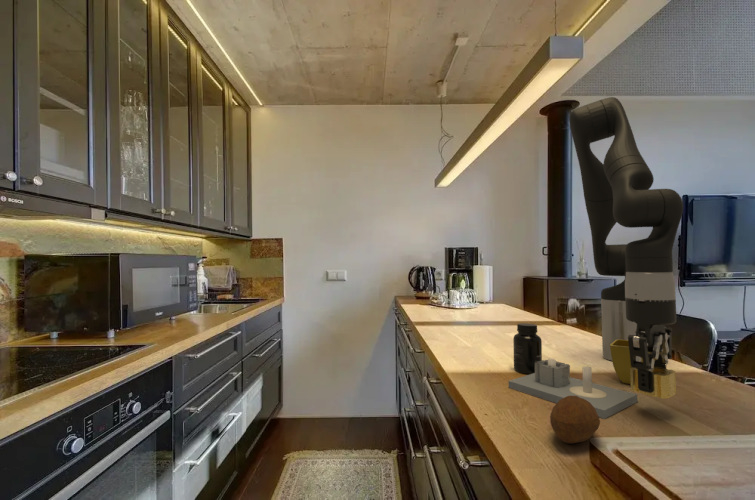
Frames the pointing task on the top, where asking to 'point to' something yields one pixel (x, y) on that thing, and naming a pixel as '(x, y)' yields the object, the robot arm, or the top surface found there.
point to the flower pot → (621, 359)
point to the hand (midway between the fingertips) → (652, 387)
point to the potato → (574, 419)
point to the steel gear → (552, 374)
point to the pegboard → (578, 392)
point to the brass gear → (657, 382)
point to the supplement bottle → (527, 348)
